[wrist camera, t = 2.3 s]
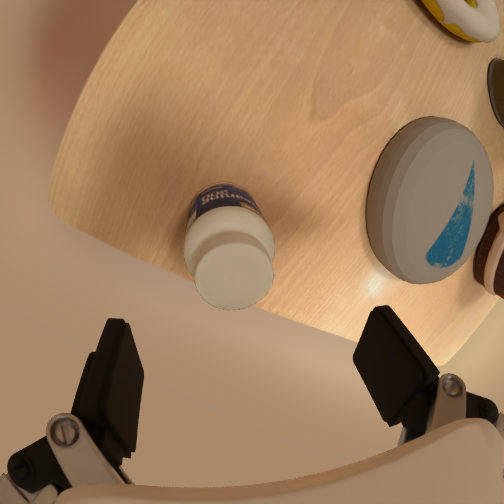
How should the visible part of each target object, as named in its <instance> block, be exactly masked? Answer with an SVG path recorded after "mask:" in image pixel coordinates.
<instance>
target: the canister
mask: <svg viewBox="0 0 504 504" xmlns="http://www.w3.org/2000/svg"><path fill="white" fill-rule="evenodd" d="M488 88H489V94H490V99H491V104H492V107H493V110H494V113H495V115H496V117H497V119H498V121H499V123H500V124H501V125H502V126H503V127H504V60H501V59H497V58H496V59H494V60H493V61H492V62H491V64H490V66H489V72H488Z"/></svg>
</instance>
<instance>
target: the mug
mask: <svg viewBox="0 0 504 504" xmlns="http://www.w3.org/2000/svg"><path fill="white" fill-rule="evenodd" d="M475 270H476V277H477V281H478V282H479V283H480V284H481V285H483V286H484V287H485V289H486V290H487V291H488V292H489V293H490V294H492V295H498V296H500V297H501V298H503V299H504V206H502V207H501V208H500V209H499V210H498V211H497V212H496V213H495V215H494V216H493V218H492V219H491V220H490V222H489V224H488V226H487V228H486V230H485V232H484V234H483V237H482V240H481V242H480V245H479V249H478V253H477V257H476V267H475Z"/></svg>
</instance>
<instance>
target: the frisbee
mask: <svg viewBox="0 0 504 504" xmlns="http://www.w3.org/2000/svg"><path fill="white" fill-rule="evenodd" d="M492 201H493V174H492V168H491V164H490V161H489V157H488V155H487V153H486V151H485V149H484V147H483V145H482V144H481V142H480V141H479V140H478V138H477V137H476V136H475V134H474V133H473V132H472V131H470V130H469V129H468V128H467V127H465V126H463V125H462V124H460V123H457V122H455V121H453V120H450V119H446V118H440V117H434V116H432V117H424V118H420V119H418V120H415V121H413V122H411V123H410V124H408V125H407V126H405V127H404V128H403V129H401V130H400V131H399V132H398V133H397V134H396V135H395V137H394V138H393V139H392V140H391V141H390V142H389V144H388V146H387V147H386V149H385V150H384V152H383V153H382V155H381V157H380V159H379V162H378V164H377V166H376V168H375V171H374V174H373V177H372V180H371V183H370V188H369V194H368V199H367V214H366V220H367V230H368V235H369V239H370V243H371V247H372V249H373V251H374V253H375V255H376V257H377V258H378V259H379V261H380V262H381V263H382V264H383V266H384V267H385V268H386V269H387V270H389V271H390V272H391V273H393V274H394V275H395V276H397V277H398V278H400V279H402V280H404V281H407V282H409V283H412V284H428V283H435V282H437V281H440V280H443V279H444V278H446V277H448V276H450V275H451V274H452V273H454V272H455V271H456V270H458V269H459V268H460V267H461V266H462V265H463V264H464V263H465V262H466V261H467V259H468V258H469V257H470V255H471V254H472V253H473V251H474V250H475V248H476V247H477V245H478V243H479V241H480V239H481V237H482V235H483V233H484V231H485V228H486V226H487V223H488V220H489V216H490V212H491V207H492Z"/></svg>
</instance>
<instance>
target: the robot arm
mask: <svg viewBox="0 0 504 504" xmlns="http://www.w3.org/2000/svg"><path fill="white" fill-rule="evenodd" d="M353 362H354V364H355V366H356V368H357V370H358V372H359V373H360V375H361V377H362V379H363V381H364V383H365V385H366V387H367V389H368V391H369V392H370V395H371V397H372V399H373V400H374V403H375V405H376V407H377V409H378V411H379V413H380V415H381V417H382V419H383V420H384V421H385V422H387V423H388V425H389V427H391V426H394V425H397V424H399V423H400V422H401V423H402V425H403V428H402V432H401V435H400V439H399V443H398V446H397V447H396V448H394V449H391V450H389V451H386V452H384V453H381V454H379V455H376V456H373V457H370V458H368V459H365V460H362V461H359V462H356V463H353V464H350V465H347V466H343V467H340V468H336V469H333V470H329V471H325V472H321V473H317V474H313V475H308V476H304V477H299V478H294V479H289V480H283V481H277V482H271V483H263V484H255V485H246V486H234V487H213V488H177V487H175V488H174V487H158V486H144V485H135V484H134V483H133V481H132V480H131V479H130V478H129V476H128V475H127V474H126V473H125V471H124V470H123V469H122V468H121V465H122V458H123V457H125V458H131V452H135V450H136V440H137V430H138V419H139V411H140V403H141V395H142V388H143V380H144V370H143V367H142V364H141V361H140V358H139V355H138V352H137V348H136V346H135V342H134V339H133V335H132V332H131V328H130V325H129V323H125V321H124V319H115V318H109V319H108V320H107V322H106V324H105V327H104V330H103V332H102V335H101V338H100V340H99V343H98V346H97V349H96V352H91V353H90V354H89V356H88V358H87V361H86V364H85V367H84V370H83V373H82V376H81V379H80V383H79V386H78V389H77V392H76V396H75V399H74V403H73V407H72V410H71V414H69V413H61V414H58V415H55V416H54V417H53V418H51V420H50V421H49V422H48V424H47V427H46V436H45V437H43V438H41V439H40V440H38V441H36V442H34V443H33V444H31V445H29V446H27V447H26V448H24V449H22V450H20V451H18V452H16V453H14V454H13V455H12V456H11V457H10V459H9V460H8V465H7V468H8V473H7V474H4V473H3V474H2V475H1V476H0V504H504V414H502V413H501V412H500V413H499V414H498V409H497V406H496V405H495V403H493V402H492V401H491V400H489V399H487V398H483V397H481V396H477V395H475V394H472V393H469V392H466V387H465V384H464V382H463V381H462V379H461V378H459V377H458V376H456V375H454V374H450V373H448V374H444V375H442V376H441V378H440V379H439V377H438V375H439V373H440V372H439V370H438V369H437V367H436V366H435V365H434V363H433V362H432V361H431V359H430V358H429V356H428V355H427V354H426V352H425V351H424V350H423V348H422V347H421V346H420V344H419V343H418V342H417V340H416V339H415V338H414V336H413V335H412V334H411V333H410V331H409V330H408V329H407V327H406V326H405V325H404V324H403V322H402V321H401V320H400V319H399V317H398V316H397V315H396V314H395V312H394V311H393V310H392V309H391V307H389V306H388V305H384V306H377V307H375V308H374V309H373V311H371V312H370V314H369V317H368V320H367V322H366V325H365V327H364V330H363V332H362V335H361V337H360V340H359V342H358V345H357V347H356V349H355V352H354V354H353Z"/></svg>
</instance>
